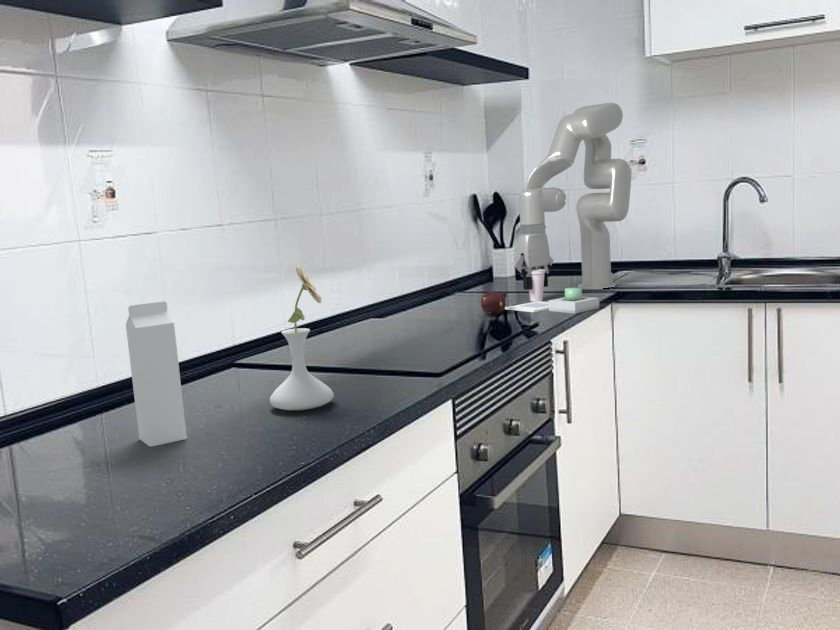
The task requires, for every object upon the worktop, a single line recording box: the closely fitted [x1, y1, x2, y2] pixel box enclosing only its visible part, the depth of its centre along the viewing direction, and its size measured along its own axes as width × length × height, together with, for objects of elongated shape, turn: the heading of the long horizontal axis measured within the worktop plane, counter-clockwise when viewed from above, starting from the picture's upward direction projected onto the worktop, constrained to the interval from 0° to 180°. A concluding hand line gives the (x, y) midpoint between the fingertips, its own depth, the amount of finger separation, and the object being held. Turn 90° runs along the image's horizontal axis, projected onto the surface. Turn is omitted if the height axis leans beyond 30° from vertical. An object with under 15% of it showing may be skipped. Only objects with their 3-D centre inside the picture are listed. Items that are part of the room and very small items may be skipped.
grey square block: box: [548, 296, 600, 315], centre depth 241 cm, size 10×10×3 cm
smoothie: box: [526, 267, 545, 302], centre depth 263 cm, size 6×6×14 cm
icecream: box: [480, 291, 507, 316], centre depth 241 cm, size 7×7×15 cm
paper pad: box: [504, 300, 549, 313], centre depth 250 cm, size 14×12×1 cm
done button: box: [564, 286, 583, 301], centre depth 240 cm, size 5×5×4 cm
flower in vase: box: [269, 265, 335, 411], centre depth 149 cm, size 13×11×25 cm
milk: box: [125, 300, 188, 448], centre depth 134 cm, size 6×6×22 cm
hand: (535, 287), depth 263 cm, fingers closed on smoothie, 6 cm apart
